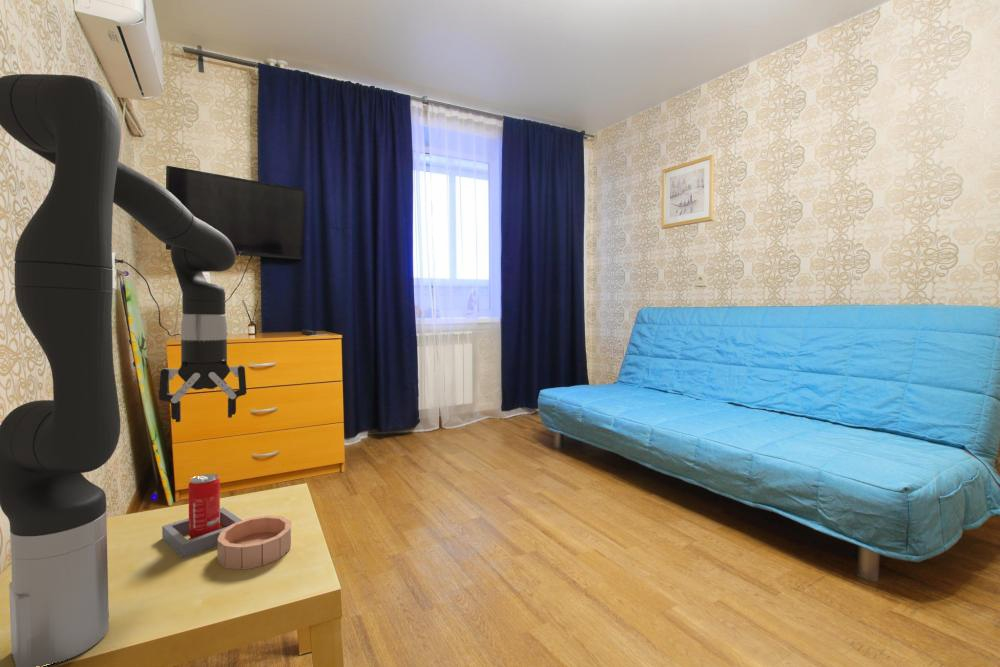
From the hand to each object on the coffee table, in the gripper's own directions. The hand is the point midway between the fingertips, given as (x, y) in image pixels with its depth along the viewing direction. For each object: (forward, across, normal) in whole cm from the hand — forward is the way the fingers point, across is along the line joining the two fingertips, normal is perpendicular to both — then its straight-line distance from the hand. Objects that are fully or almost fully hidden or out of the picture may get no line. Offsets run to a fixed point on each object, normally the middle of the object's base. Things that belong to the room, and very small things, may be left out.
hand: (204, 419), depth 88 cm
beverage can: (+24, 0, 0) cm, 24 cm away
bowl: (+24, +8, -11) cm, 27 cm away
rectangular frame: (+24, 0, 0) cm, 24 cm away
